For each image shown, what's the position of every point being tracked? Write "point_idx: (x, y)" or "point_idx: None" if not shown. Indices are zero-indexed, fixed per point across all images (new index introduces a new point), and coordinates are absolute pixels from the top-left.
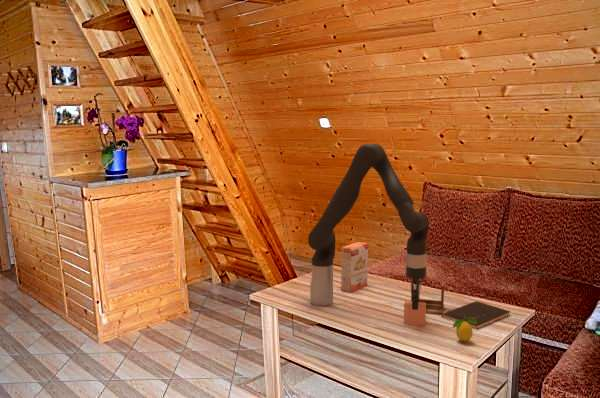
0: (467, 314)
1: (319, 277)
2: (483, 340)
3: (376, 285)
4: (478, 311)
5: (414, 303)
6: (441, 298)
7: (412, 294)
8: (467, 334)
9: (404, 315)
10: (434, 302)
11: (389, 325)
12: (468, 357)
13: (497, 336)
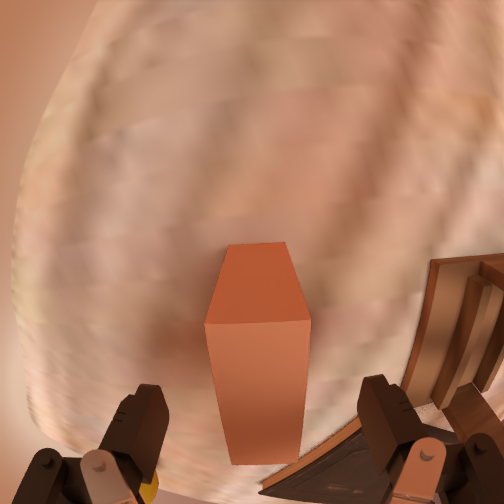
0: (361, 472)
1: None
2: (180, 483)
3: None
4: (388, 479)
5: (110, 439)
6: (460, 429)
7: (24, 495)
8: None
9: (222, 269)
10: (488, 366)
11: (156, 156)
12: (58, 435)
13: (226, 501)
